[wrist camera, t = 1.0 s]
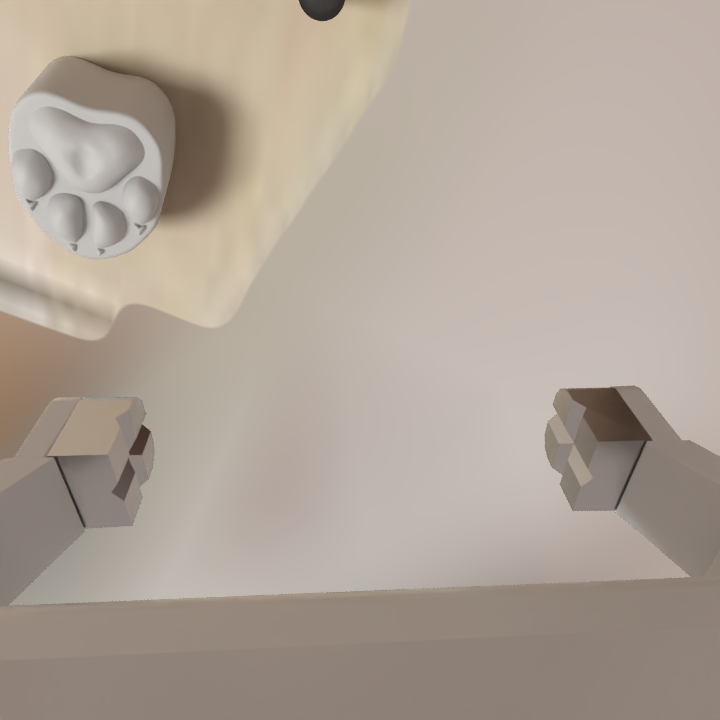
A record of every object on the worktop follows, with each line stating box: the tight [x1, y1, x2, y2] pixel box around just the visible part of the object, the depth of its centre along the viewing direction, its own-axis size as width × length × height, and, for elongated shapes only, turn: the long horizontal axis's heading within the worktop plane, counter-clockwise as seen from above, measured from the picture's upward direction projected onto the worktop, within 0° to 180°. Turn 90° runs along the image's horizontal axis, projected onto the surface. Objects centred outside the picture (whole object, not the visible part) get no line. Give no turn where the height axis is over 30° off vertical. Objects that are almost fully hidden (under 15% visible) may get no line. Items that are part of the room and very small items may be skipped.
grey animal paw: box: [8, 56, 176, 259], centre depth 42 cm, size 10×13×9 cm
